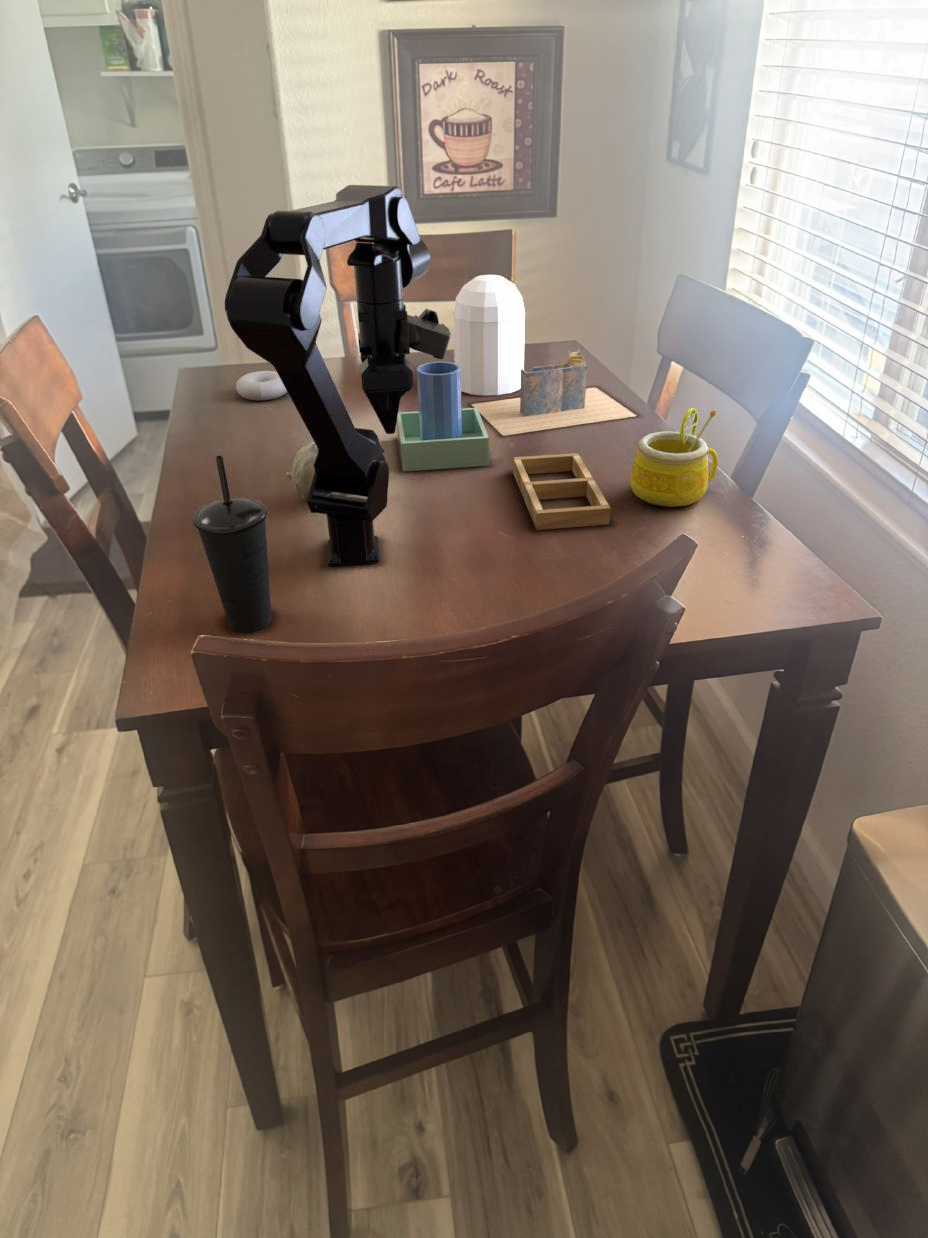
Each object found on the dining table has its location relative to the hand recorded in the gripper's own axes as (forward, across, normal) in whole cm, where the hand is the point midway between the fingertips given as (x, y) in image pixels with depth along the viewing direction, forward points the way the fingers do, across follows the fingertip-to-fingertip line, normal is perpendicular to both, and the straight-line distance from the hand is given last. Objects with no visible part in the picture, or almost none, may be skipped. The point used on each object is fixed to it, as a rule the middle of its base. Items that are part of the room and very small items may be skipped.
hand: (388, 420), depth 114 cm
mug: (+13, -2, -40) cm, 42 cm away
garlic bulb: (+13, +5, +10) cm, 17 cm away
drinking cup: (+13, -26, +18) cm, 34 cm away
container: (+13, +51, -21) cm, 57 cm away
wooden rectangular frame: (+13, 0, -24) cm, 27 cm away
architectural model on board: (+13, +35, -30) cm, 48 cm away
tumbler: (+12, +19, -9) cm, 24 cm away
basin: (+13, +19, -9) cm, 25 cm away
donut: (+13, +53, +22) cm, 59 cm away
